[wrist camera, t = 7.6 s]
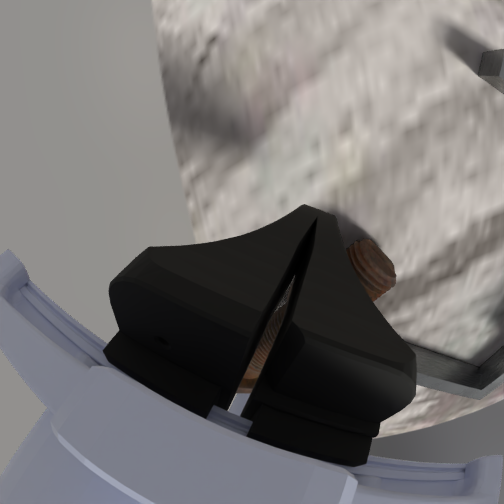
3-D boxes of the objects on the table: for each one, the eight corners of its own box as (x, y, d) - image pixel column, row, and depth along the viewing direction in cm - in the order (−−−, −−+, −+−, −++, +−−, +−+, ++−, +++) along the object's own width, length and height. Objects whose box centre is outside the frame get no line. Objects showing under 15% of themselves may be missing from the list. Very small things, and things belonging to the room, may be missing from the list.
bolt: (346, 256, 11) (197, 375, 19) (416, 321, 11) (249, 408, 20) (348, 206, 15) (225, 326, 24) (402, 258, 16) (269, 356, 24)
